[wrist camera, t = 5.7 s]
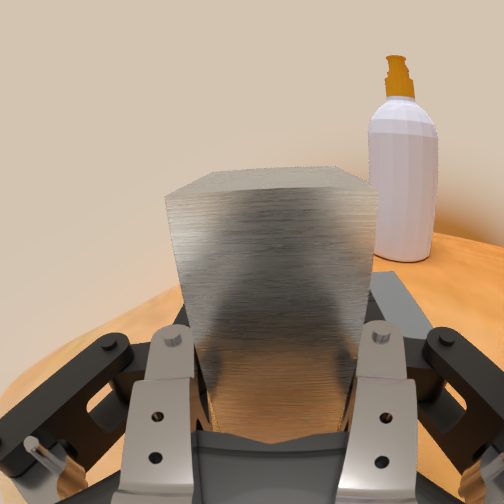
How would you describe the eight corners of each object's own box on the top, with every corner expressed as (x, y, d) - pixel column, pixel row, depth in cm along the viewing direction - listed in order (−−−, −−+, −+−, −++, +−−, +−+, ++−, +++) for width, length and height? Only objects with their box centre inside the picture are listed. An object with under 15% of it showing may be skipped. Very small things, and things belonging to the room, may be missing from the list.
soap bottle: (435, 244, 31) (436, 69, 22) (421, 270, 25) (421, 44, 16) (381, 231, 37) (378, 69, 28) (354, 251, 31) (347, 49, 22)
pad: (393, 273, 25) (393, 271, 25) (439, 342, 15) (440, 339, 15) (308, 278, 27) (308, 275, 26) (321, 357, 16) (321, 354, 16)
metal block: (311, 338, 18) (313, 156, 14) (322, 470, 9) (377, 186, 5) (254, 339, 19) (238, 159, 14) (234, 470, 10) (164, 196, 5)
